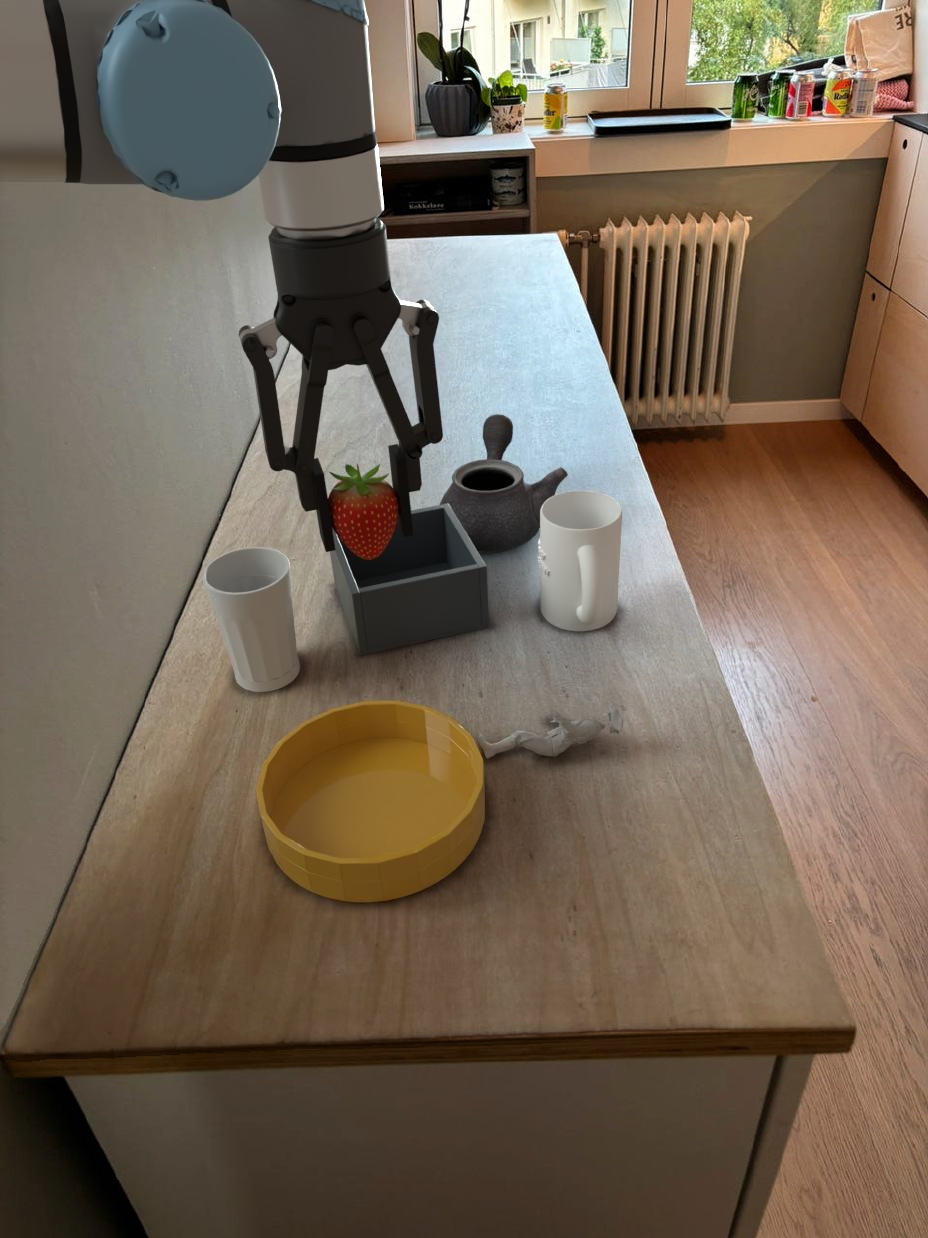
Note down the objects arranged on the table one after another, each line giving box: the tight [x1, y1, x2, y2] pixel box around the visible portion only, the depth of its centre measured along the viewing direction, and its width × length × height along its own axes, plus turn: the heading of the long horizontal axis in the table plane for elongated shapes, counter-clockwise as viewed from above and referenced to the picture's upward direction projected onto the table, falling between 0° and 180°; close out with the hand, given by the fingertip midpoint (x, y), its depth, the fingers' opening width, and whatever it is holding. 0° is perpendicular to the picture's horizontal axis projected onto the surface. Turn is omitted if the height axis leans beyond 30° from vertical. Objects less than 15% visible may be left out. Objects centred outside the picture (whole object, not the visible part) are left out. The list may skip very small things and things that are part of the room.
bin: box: [329, 504, 490, 656], centre depth 103 cm, size 14×14×8 cm
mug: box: [537, 489, 623, 632], centre depth 98 cm, size 8×12×12 cm
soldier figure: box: [477, 702, 624, 760], centre depth 85 cm, size 8×5×12 cm
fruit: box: [327, 463, 399, 560], centre depth 75 cm, size 5×5×8 cm
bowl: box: [255, 699, 486, 903], centre depth 80 cm, size 18×18×4 cm
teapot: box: [438, 413, 569, 553], centre depth 116 cm, size 19×15×10 cm
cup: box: [201, 546, 301, 693], centre depth 93 cm, size 8×8×12 cm
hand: (366, 534), depth 76 cm, fingers closed on fruit, 5 cm apart
